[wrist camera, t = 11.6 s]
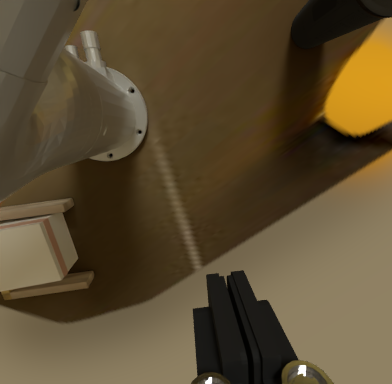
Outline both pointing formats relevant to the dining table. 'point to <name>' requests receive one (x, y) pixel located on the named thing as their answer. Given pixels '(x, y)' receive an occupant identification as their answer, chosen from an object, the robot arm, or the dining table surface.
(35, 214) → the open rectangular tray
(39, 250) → the carton
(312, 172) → the dining table surface
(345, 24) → the drinking cup
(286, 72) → the dining table surface
